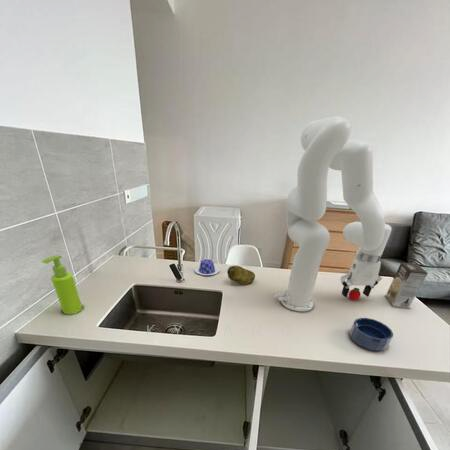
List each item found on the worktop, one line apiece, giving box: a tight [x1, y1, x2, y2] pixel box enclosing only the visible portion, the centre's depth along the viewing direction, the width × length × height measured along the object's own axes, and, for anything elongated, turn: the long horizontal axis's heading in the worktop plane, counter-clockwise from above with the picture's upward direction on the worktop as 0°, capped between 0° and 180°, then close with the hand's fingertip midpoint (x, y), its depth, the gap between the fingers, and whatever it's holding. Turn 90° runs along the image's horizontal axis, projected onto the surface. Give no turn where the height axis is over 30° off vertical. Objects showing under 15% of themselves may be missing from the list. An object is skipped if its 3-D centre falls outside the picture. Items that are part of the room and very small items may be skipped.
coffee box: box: [385, 261, 429, 309], centre depth 98 cm, size 9×6×16 cm
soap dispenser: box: [41, 254, 83, 315], centre depth 81 cm, size 6×7×20 cm
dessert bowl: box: [349, 317, 394, 352], centre depth 79 cm, size 11×11×5 cm
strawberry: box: [348, 287, 362, 301], centre depth 102 cm, size 4×4×5 cm
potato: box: [226, 265, 256, 285], centre depth 108 cm, size 8×13×8 cm, turn 89°
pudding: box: [194, 258, 220, 276], centre depth 118 cm, size 12×12×5 cm
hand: (354, 295), depth 102 cm, fingers open, 9 cm apart
